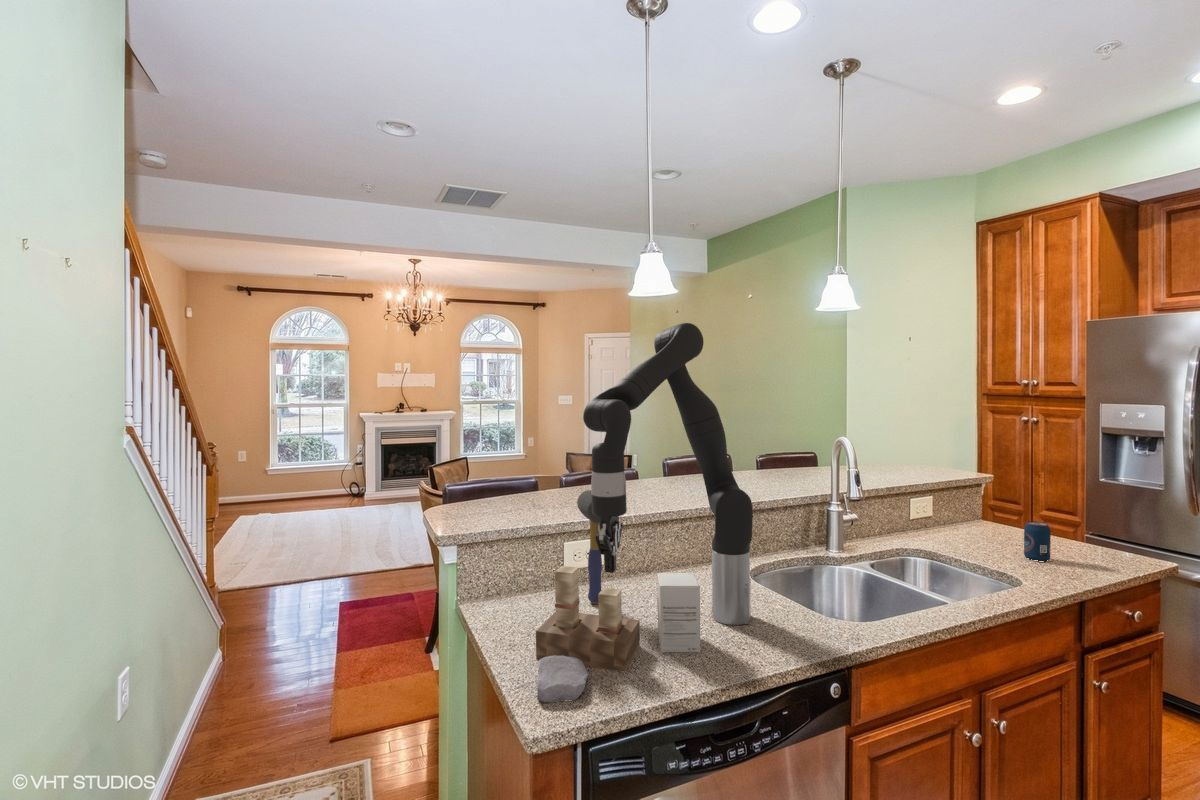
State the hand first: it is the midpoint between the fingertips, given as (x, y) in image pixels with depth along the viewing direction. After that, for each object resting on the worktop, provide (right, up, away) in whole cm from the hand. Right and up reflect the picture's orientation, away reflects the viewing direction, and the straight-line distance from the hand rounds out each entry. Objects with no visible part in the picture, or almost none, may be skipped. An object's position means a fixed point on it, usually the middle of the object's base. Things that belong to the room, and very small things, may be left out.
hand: (610, 571), depth 125 cm
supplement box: (+16, -19, +6) cm, 25 cm away
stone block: (-10, -20, -12) cm, 25 cm away
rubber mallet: (-4, -18, +32) cm, 36 cm away
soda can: (+141, -16, +65) cm, 156 cm away
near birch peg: (0, -18, +1) cm, 18 cm away
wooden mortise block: (-5, -19, +2) cm, 19 cm away
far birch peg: (-10, -14, +4) cm, 17 cm away
